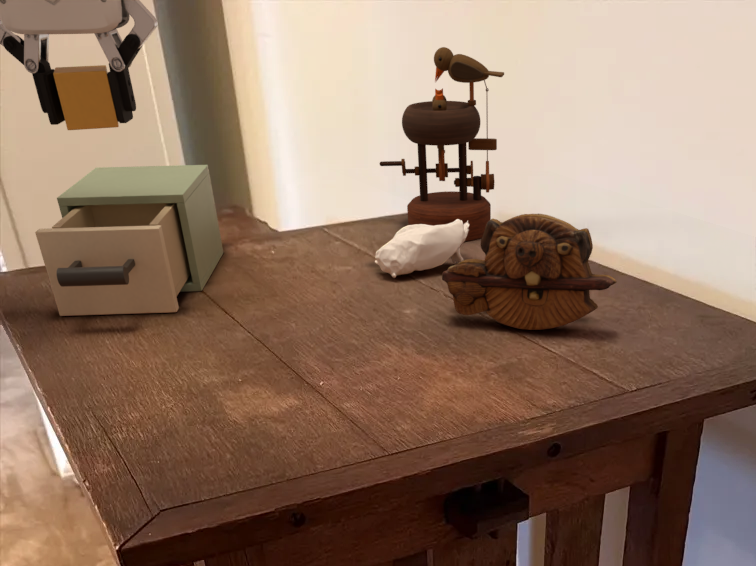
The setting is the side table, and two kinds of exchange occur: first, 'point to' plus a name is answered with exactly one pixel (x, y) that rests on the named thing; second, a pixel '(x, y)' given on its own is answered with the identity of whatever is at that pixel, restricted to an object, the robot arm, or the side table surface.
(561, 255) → the wooden carving
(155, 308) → the drawer
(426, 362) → the side table surface
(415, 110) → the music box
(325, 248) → the side table surface
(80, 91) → the block
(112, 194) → the cabinet
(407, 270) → the white lumpy oblong piece
